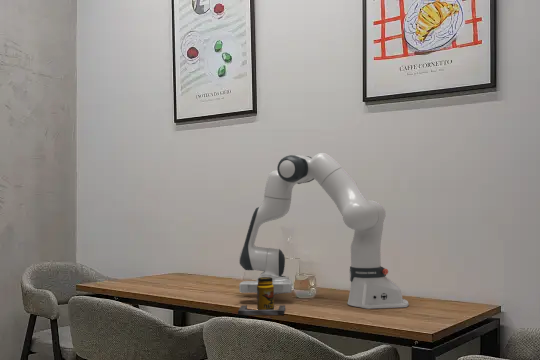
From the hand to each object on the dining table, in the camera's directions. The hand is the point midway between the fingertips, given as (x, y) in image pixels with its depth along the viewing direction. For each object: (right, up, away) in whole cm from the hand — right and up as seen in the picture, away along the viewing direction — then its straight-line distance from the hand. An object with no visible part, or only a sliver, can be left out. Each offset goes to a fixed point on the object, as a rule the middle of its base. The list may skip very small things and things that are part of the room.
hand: (264, 290), depth 233 cm
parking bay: (-1, -6, -10) cm, 11 cm away
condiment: (0, -6, -8) cm, 10 cm away
